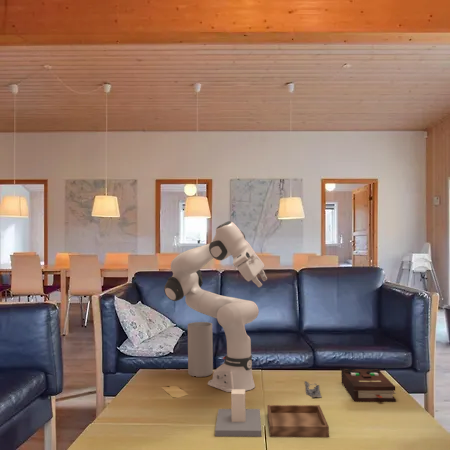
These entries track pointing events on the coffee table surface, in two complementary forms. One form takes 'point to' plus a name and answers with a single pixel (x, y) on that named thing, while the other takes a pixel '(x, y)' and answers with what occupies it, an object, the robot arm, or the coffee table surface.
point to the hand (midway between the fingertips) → (263, 283)
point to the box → (297, 421)
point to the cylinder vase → (200, 349)
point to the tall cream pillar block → (238, 405)
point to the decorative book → (367, 385)
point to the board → (238, 424)
